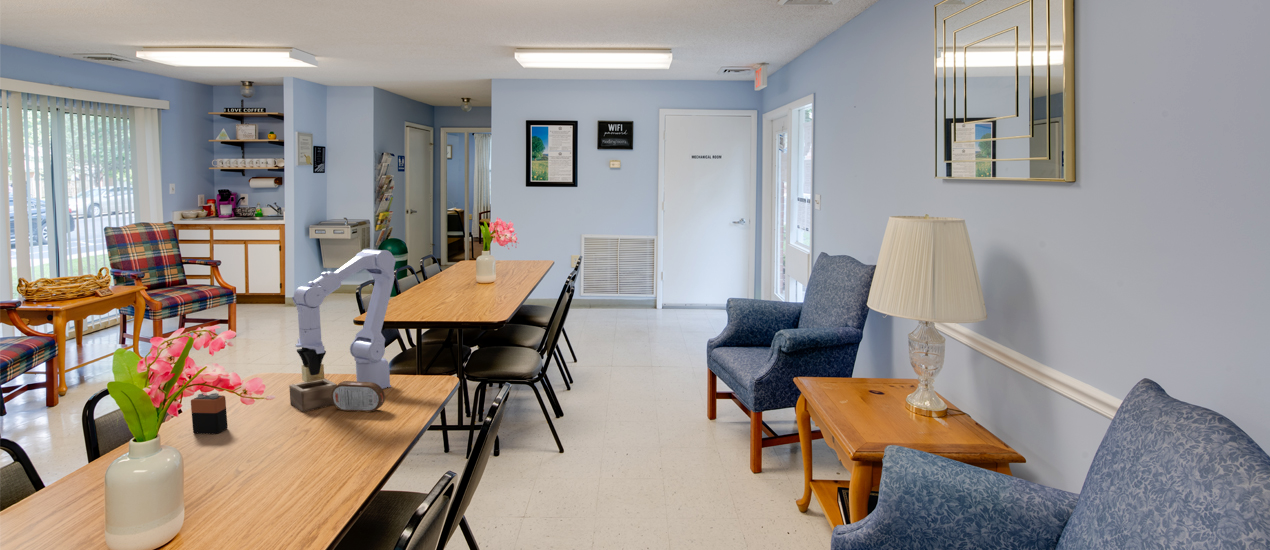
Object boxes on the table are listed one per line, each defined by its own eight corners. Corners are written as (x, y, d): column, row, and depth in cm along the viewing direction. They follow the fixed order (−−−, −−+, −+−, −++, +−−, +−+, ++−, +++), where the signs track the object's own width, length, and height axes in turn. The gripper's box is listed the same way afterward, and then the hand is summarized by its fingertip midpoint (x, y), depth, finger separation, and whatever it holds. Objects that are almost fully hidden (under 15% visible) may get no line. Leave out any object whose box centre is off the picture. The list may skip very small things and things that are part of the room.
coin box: (325, 397, 207) (324, 378, 206) (337, 404, 201) (336, 384, 200) (290, 404, 200) (289, 384, 199) (302, 412, 194) (301, 391, 193)
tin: (386, 410, 196) (384, 381, 195) (381, 413, 193) (379, 384, 192) (336, 408, 198) (334, 379, 197) (330, 411, 195) (328, 382, 194)
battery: (218, 434, 177) (215, 397, 175) (192, 433, 177) (189, 396, 175) (228, 428, 181) (225, 391, 180) (203, 427, 181) (200, 391, 180)
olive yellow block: (319, 377, 202) (319, 362, 202) (324, 379, 200) (323, 364, 200) (302, 380, 199) (301, 365, 198) (306, 382, 197) (305, 367, 196)
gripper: (285, 325, 200) (288, 371, 201) (305, 333, 190) (308, 381, 191) (310, 322, 205) (313, 366, 206) (330, 329, 195) (333, 376, 196)
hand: (312, 373), depth 199 cm, fingers closed on olive yellow block, 3 cm apart
